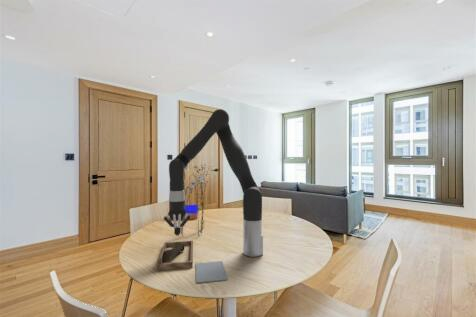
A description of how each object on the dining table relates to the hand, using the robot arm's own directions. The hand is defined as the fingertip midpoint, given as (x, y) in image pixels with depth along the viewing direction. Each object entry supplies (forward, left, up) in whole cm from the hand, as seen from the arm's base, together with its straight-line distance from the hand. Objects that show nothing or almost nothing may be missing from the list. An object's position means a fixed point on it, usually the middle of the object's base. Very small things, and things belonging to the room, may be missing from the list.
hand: (177, 234), depth 110 cm
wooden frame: (0, 0, -11) cm, 11 cm away
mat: (-15, +18, -11) cm, 26 cm away
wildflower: (-7, -28, -11) cm, 31 cm away
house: (-1, -67, -11) cm, 68 cm away
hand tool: (0, -1, -13) cm, 13 cm away
